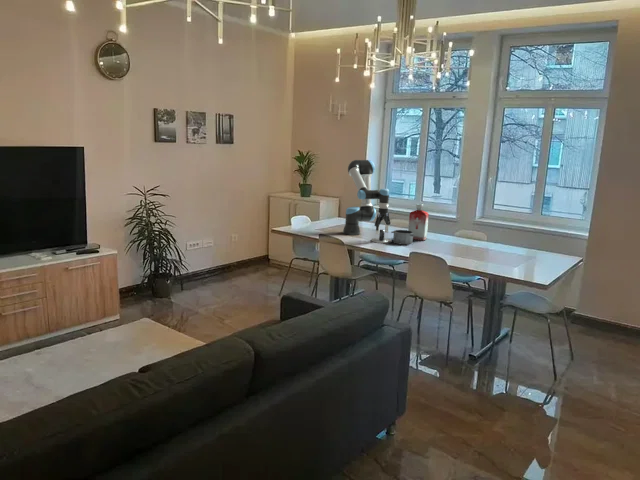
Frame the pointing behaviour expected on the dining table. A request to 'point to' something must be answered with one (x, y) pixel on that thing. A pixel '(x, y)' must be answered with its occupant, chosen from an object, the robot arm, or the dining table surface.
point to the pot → (403, 237)
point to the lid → (381, 238)
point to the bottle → (418, 223)
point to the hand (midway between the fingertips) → (382, 233)
